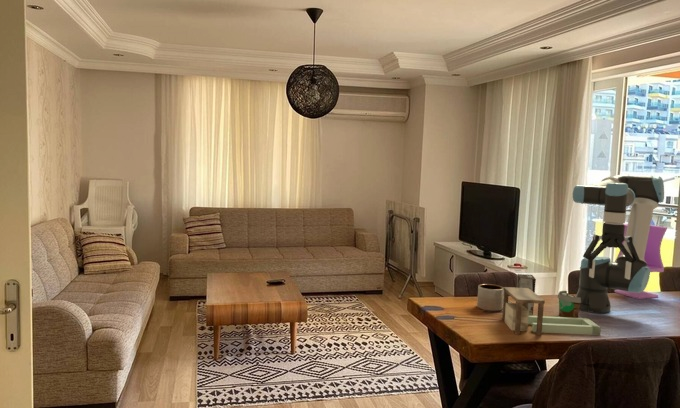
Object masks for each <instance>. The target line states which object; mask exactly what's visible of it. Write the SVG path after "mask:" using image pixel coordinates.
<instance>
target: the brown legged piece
mask: <svg viewBox="0 0 680 408" xmlns="http://www.w3.org/2000/svg"><path fill="white" fill-rule="evenodd" d="M503 288H504V289H503V290H504V294H503V309H502V314H501V315H502V317H501V318H502V321H505V308H506V303H509V297H511V298H512V299H513V300H514V301H515V303H516V302H517V307H516V321H515V330H514V334H515V335H521V331H520V326H521V312H522V303H523V306H524V307H525V308H526V309H528V303H534V304H538V305H537V315H536V316H537V329H536V332H535V335H537V336H542V333H543V332H542V322H543V316H544V310H545V309H544V308H545V307H544V306H545V300H544V298H542V297H541V296H539V295H538V294H537V293H536V292H535V293H534V292H533V291H531V290H530V289H529V288H517V287H512V286H510V287H509V286H508V287H507V286H503Z"/></svg>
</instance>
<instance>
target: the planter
mask: <svg viewBox="0 0 680 408" xmlns="http://www.w3.org/2000/svg"><path fill="white" fill-rule="evenodd" d="M477 287H478V288H477V300H476V301H477V302H476V307H477V308H478V309H480V310H483V311H487V312H500V311H501V310H502V311H503V299H504V290H503V289H504V286H501V285H498V284H492V283H481V284H478V286H477Z"/></svg>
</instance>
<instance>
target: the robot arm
mask: <svg viewBox="0 0 680 408" xmlns="http://www.w3.org/2000/svg"><path fill="white" fill-rule="evenodd" d="M572 201H573V202H574V203H576V204H582V205H583V204H584V205H586V204H587V205H597V206H598V205H599V206H604V208H603V217H602V219H603V220H602V221H603V222H604V223H602V230H601V233H602V234H601V235H597V234H593V235H592V241H591V242H590V244H589V245H588V247H587V248H586V251H584V253H583V254H582V257H583V258H582V259H581V262H580V267H579V281H578V283H579V284H578V290H577V293H576V295H575V297H579V298H581V303H580V306H579V311H584V312H589V313H597V314H607V313H611V308H612V305H611V302H610V299H609V298H610V297H609V293H608V289H612V290H622V291H628V292H635V293H641V292H643V291H645V290H646V288H647V285H648V284H649V280H650V275H651V272H650V268H649V267H647V263H646V261H645V260H644V256H645V250H646V245H647V240H648V235H649V230H650V225H652V218H653V213H654V210H655V209H657V208H658V207H659V203H663V202H664V201H665V185H664V179H663V178H662V177H661V176H658V175H652V174H650V175H648V174H646V175H644V174H627V173H625V174H623V173H621V174H616V175H613V176H608V177H605V178H603V179H602V180H601V181H599V182H595V183H591V184H586V185H584V184H581V185H580V184H576V185H574V187H573V190H572ZM629 206H631V207H630V212H629V216H628V223H627V224H628V226H627V231H626V236H625V237H624V230H625V225H624V224H626V217H627V216H626V215H627V207H629ZM624 240H625V241H624ZM599 241H602V242H600V243H599ZM623 241H624V245H623V244H622V242H623ZM598 243H599V245H598V246H597V244H598ZM596 246H597V247H596ZM607 248H609V249H610V248H615V249H617V248H618V249H619V251H620V250H621V251H622V255H621V256H619V257H616V258H617V261H616V262H615V261H611V258H610V257H607V256H599V255H600V254H601V253H602V252H603V251H604V250H605V249H607Z"/></svg>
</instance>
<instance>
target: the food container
mask: <svg viewBox="0 0 680 408" xmlns="http://www.w3.org/2000/svg"><path fill="white" fill-rule="evenodd" d="M567 292H568V291H567V290H560V291H559V292H558V293H557V297H556V298H558V317H572V318H579V312H580V309H579V306H580V303H581V298H579V297H576V295H574V294H570V293H567Z"/></svg>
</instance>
